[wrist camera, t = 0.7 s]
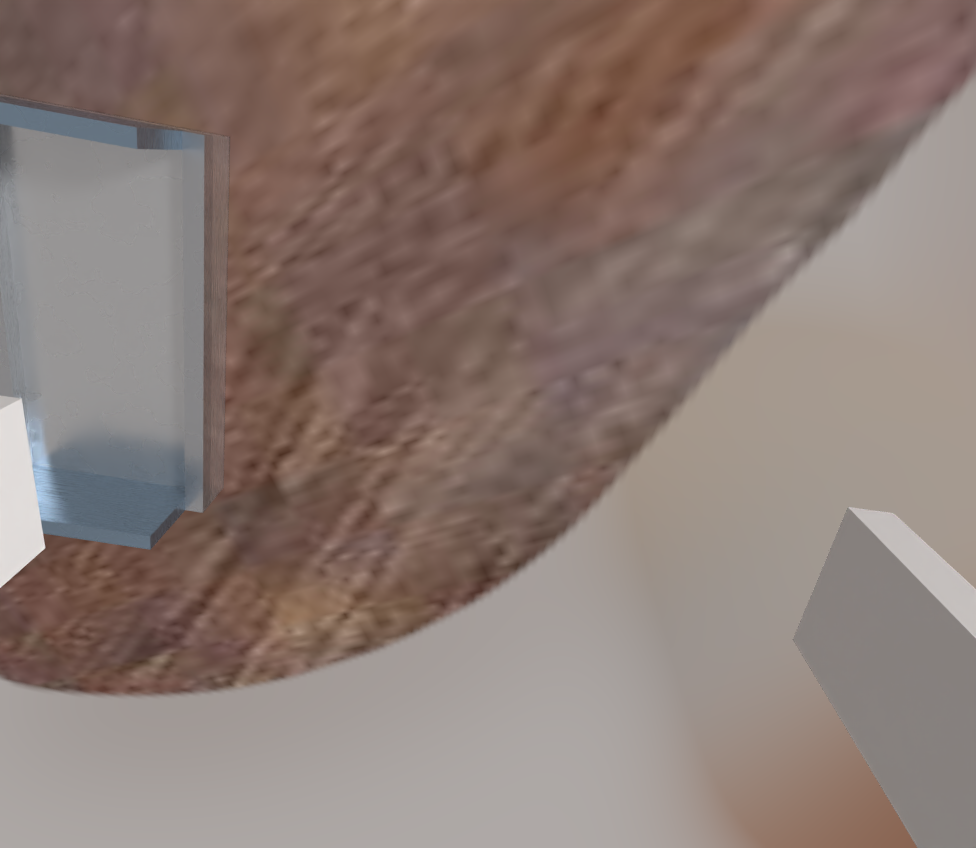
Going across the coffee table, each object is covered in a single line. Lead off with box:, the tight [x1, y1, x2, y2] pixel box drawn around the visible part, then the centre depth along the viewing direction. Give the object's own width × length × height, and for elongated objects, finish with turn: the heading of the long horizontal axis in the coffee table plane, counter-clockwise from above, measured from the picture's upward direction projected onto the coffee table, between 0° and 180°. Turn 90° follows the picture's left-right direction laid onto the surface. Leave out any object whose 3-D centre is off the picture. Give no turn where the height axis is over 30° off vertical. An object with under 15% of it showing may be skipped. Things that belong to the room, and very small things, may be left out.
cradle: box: [0, 94, 230, 550], centre depth 32 cm, size 20×11×7 cm, turn 170°
